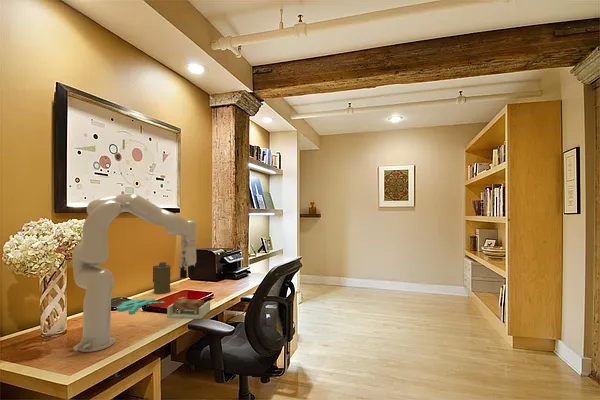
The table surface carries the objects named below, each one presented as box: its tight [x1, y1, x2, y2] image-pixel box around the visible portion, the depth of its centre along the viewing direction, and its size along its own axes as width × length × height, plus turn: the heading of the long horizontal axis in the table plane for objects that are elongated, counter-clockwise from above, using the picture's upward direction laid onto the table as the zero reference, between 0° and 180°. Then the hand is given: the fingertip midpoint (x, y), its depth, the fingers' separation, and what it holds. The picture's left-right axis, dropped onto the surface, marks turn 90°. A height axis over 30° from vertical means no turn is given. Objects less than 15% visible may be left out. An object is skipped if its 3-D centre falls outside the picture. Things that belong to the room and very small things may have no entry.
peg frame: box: [166, 300, 211, 320], centre depth 165 cm, size 12×18×6 cm, turn 85°
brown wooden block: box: [173, 298, 205, 310], centre depth 165 cm, size 14×6×4 cm, turn 84°
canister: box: [152, 261, 172, 295], centre depth 210 cm, size 11×10×20 cm
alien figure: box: [116, 298, 166, 316], centre depth 178 cm, size 20×2×20 cm
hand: (187, 275), depth 165 cm, fingers open, 9 cm apart
